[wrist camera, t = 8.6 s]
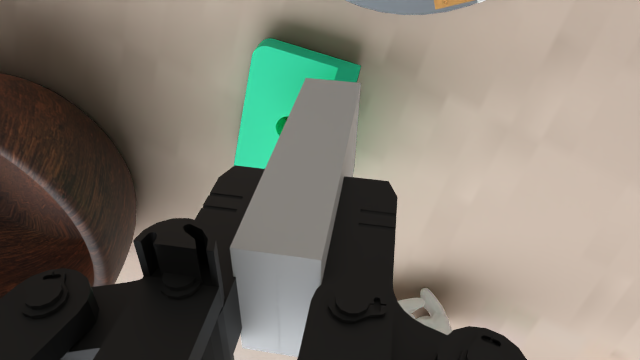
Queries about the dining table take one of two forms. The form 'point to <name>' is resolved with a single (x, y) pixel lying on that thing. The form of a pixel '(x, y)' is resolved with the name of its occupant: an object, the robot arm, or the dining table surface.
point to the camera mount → (279, 94)
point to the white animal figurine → (432, 306)
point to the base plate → (408, 6)
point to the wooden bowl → (59, 190)
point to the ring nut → (448, 3)
